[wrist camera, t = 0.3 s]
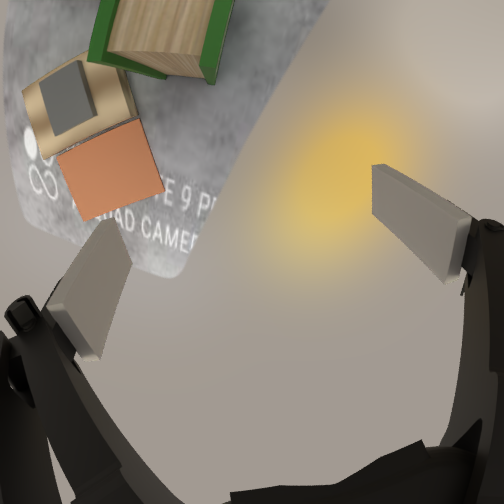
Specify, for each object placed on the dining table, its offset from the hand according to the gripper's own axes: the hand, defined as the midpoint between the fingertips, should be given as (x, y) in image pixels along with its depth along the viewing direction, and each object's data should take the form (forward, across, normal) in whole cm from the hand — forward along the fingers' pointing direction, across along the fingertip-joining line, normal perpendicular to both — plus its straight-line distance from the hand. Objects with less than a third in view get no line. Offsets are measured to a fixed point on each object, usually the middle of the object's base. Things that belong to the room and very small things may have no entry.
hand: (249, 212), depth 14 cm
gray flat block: (+23, -18, +11) cm, 32 cm away
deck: (+27, -18, +10) cm, 34 cm away
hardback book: (+28, 0, +17) cm, 32 cm away
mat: (+27, -17, -1) cm, 32 cm away
